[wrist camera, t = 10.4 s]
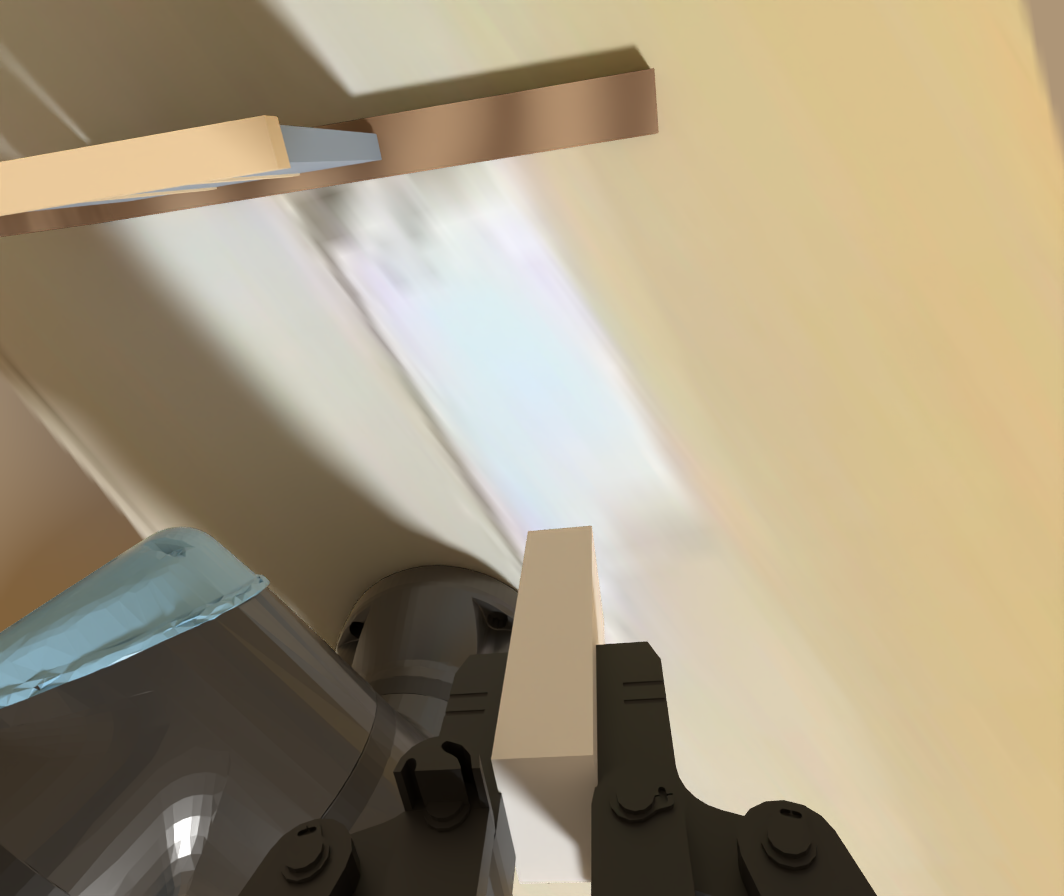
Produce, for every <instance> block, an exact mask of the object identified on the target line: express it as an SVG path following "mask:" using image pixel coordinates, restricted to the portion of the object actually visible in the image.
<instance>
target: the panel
mask: <svg viewBox="0 0 1064 896" xmlns="http://www.w3.org/2000/svg"><path fill="white" fill-rule="evenodd" d="M377 160H382V158H381V153H380V148H379V144H378V139H377V134H373V133H362V132H352V131H341V130H330V129H320V128H309V127H298V126H287V125H280V124H279V121H278V117H276V116H268V115H262V116H257V117H251V118H245V119H240V120H234V121H228V122H223V123H217V124H211V125H206V126H200V127H194V128H189V129H183V130H177V131H172V132H166V133H161V134H155V135H149V136H144V137H138V138H132V139H127V140H121V141H115V142H110V143H104V144H98V145H93V146H87V147H82V148H76V149H70V150H65V151H59V152H53V153H48V154H42V155H36V156H31V157H25V158H19V159H14V160H8V161H2V162H0V216H4V215H10V214H16V213H22V212H30V211H40V210H50V209H59V208H69V207H79V206H88V205H98V204H108V203H117V202H127V201H134V200H140V199H146V198H152V197H158V196H164V195H170V194H178V193H188V192H198V191H208V190H214V189H217V187H219V186H225V185H231V184H237V183H243V182H249V181H256V180H262V179H272V178H285V177H293V176H299V175H300V173H304V172H310V171H316V170H323V169H329V168H335V167H341V166H347V165H353V164H359V163H365V162H371V161H377Z"/></svg>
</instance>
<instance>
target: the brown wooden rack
mask: <svg viewBox="0 0 1064 896" xmlns="http://www.w3.org/2000/svg"><path fill="white" fill-rule="evenodd" d="M311 128H320V129H330V130H341V131H352V132H362V133H373V134H377V139H378V144H379V148H380V153H381V158H382V160H377V161H371V162H365V163H359V164H353V165H347V166H341V167H335V168H329V169H323V170H316V171H310V172H304V173H300V175H299V176H293V177H285V178H272V179H262V180H256V181H249V182H243V183H237V184H231V185H225V186H219V187H217V189H214V190H208V191H198V192H188V193H178V194H170V195H164V196H158V197H152V198H146V199H140V200H134V201H127V202H117V203H108V204H98V205H88V206H79V207H69V208H59V209H50V210H40V211H30V212H22V213H16V214H10V215H4V216H0V237H4V236H11V235H18V234H25V233H32V232H39V231H46V230H54V229H61V228H68V227H75V226H82V225H89V224H96V223H103V222H109V221H115V220H121V219H128V218H134V217H140V216H146V215H153V214H159V213H165V212H171V211H177V210H184V209H190V208H196V207H202V206H209V205H215V204H221V203H227V202H233V201H240V200H246V199H252V198H258V197H265V196H271V195H277V194H283V193H289V192H296V191H302V190H308V189H314V188H321V187H327V186H333V185H339V184H345V183H352V182H358V181H364V180H370V179H377V178H383V177H389V176H395V175H401V174H408V173H414V172H420V171H426V170H433V169H439V168H445V167H451V166H457V165H464V164H470V163H476V162H482V161H489V160H495V159H501V158H507V157H513V156H520V155H526V154H532V153H538V152H545V151H551V150H557V149H563V148H569V147H576V146H582V145H588V144H594V143H601V142H607V141H613V140H619V139H625V138H632V137H638V136H644V135H650V134H656V133H658V118H657V103H656V88H655V73H654V68H652V69H647V70H641V71H635V72H629V73H624V74H618V75H612V76H606V77H600V78H595V79H589V80H583V81H577V82H572V83H566V84H560V85H554V86H548V87H543V88H537V89H531V90H525V91H520V92H514V93H508V94H502V95H496V96H491V97H485V98H479V99H473V100H468V101H462V102H456V103H450V104H444V105H439V106H433V107H427V108H421V109H415V110H410V111H404V112H398V113H392V114H387V115H381V116H375V117H369V118H363V119H358V120H352V121H346V122H340V123H335V124H329V125H323V126H317V127H311Z"/></svg>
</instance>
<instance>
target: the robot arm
mask: <svg viewBox="0 0 1064 896" xmlns="http://www.w3.org/2000/svg"><path fill="white" fill-rule="evenodd" d="M269 583H270V582H269V580H268V579H267V578H266V577H265V576H263V575H259V574H255V573H254V572H252V571H251V570H250V569H249V568H248V567H247V566H245V565H244V564H243V563H242V562H241V561H240V560H238V559H237V558H236V557H235V556H234V555H233V554H232V553H230V552H229V551H228V550H227V549H226V548H225V547H223V546H222V545H221V544H220V543H219V542H218V541H216V540H215V539H214V538H213V537H211V536H210V535H208V534H207V533H205V532H203V531H201V530H198V529H194V528H189V527H174V528H168V529H164V530H162V531H159V532H157V533H155V534H153V535H151V536H149V537H148V538H146V539H144V540H143V541H141V542H140V543H138V544H136V545H135V546H133V547H132V548H130V549H128V550H127V551H125V552H124V553H122V554H121V555H119V556H118V557H116V558H114V559H113V560H111V561H110V562H108V563H107V564H105V565H104V566H102V567H101V568H99V569H98V570H96V571H94V572H93V573H91V574H90V575H88V576H87V577H85V578H84V579H82V580H81V581H79V582H77V583H76V584H74V585H73V586H71V587H70V588H68V589H66V590H65V591H63V592H62V593H60V594H59V595H57V596H56V597H54V598H52V599H51V600H49V601H48V602H46V603H45V604H43V605H42V606H40V607H39V608H38V609H36V610H34V611H33V612H31V613H29V614H28V615H27V616H25V617H23V618H22V619H20V620H19V621H17V622H16V623H14V624H13V625H11V626H10V627H8V628H6V629H5V630H4V631H2V632H1V633H0V896H513V895H512V890H513V880H514V871H515V867H516V871H517V875H518V880H519V884H521V883H569V882H591V896H877V895H876V893H875V892H874V890H873V889H872V887H871V886H870V884H869V883H868V881H867V879H866V878H865V876H864V875H863V873H862V872H861V870H860V869H859V867H858V865H857V864H856V862H855V861H854V859H853V858H852V856H851V855H850V853H849V852H848V850H847V848H846V847H845V845H844V844H843V842H842V841H841V839H840V838H839V836H838V834H837V833H836V831H835V830H834V829H833V828H832V827H831V826H830V825H829V824H828V822H827V821H826V820H825V819H824V818H823V817H822V816H821V815H819V814H818V813H816V812H814V811H812V810H811V809H809V808H807V807H806V806H804V805H801V804H797V803H793V802H789V801H785V800H780V801H766V802H763V803H761V804H759V805H757V806H755V807H753V808H751V809H750V810H749V811H748V812H747V813H746V815H745V816H742V815H738V814H734V813H731V812H727V811H723V810H720V809H717V808H715V807H712V806H709V805H707V804H705V803H704V802H702V801H700V800H699V799H697V798H696V797H694V796H693V795H692V794H691V793H690V792H689V791H688V790H687V789H686V788H685V786H684V784H683V783H682V781H681V780H680V778H679V775H678V772H677V769H676V764H675V757H674V750H673V743H672V736H671V729H670V722H669V715H668V707H667V701H666V693H665V686H664V679H663V672H662V665H661V659H660V658H659V656H658V655H657V654H656V652H655V651H654V650H653V648H652V647H651V646H650V644H649V643H648V642H633V643H617V644H605V641H604V618H603V610H602V603H601V595H600V587H599V579H598V571H597V564H596V556H595V548H594V540H593V532H592V526H583V527H572V528H561V529H549V530H538V531H528V535H527V541H526V547H525V554H524V560H523V566H522V572H521V578H520V584H519V591H518V593H517V592H516V591H515V590H513V589H512V588H510V587H509V586H507V585H505V584H504V583H502V582H500V581H498V580H496V579H494V578H492V577H490V576H487V575H485V574H482V573H479V572H476V571H472V570H469V569H464V568H459V567H451V566H424V567H417V568H411V569H408V570H404V571H401V572H398V573H395V574H393V575H390V576H388V577H386V578H384V579H382V580H381V581H379V582H378V583H376V584H375V585H373V586H372V587H371V588H370V589H368V590H367V591H366V592H365V593H364V594H363V595H362V596H361V598H360V599H359V600H358V601H357V603H356V604H355V606H354V607H353V609H352V611H351V613H350V615H349V617H348V619H347V621H346V623H345V625H344V627H343V629H342V631H341V633H340V636H339V639H338V643H337V647H336V652H335V651H334V650H333V649H332V648H331V647H330V646H329V645H328V644H327V643H326V642H325V641H323V640H322V639H321V638H320V637H319V636H318V635H317V634H316V633H315V632H314V631H313V630H312V629H311V628H310V627H309V626H308V625H307V624H306V623H305V622H304V621H302V620H301V619H300V618H299V617H298V616H297V615H296V614H295V613H294V612H293V611H292V610H291V609H290V608H289V607H288V606H287V605H286V604H285V603H284V602H283V601H282V600H280V599H279V598H278V597H277V596H276V595H275V594H274V593H273V592H272V591H271V590H270V589H269V588H268V587H267V586H268V585H269Z"/></svg>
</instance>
